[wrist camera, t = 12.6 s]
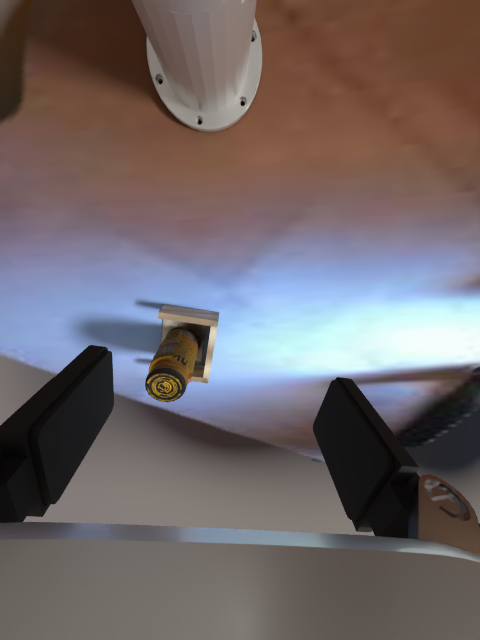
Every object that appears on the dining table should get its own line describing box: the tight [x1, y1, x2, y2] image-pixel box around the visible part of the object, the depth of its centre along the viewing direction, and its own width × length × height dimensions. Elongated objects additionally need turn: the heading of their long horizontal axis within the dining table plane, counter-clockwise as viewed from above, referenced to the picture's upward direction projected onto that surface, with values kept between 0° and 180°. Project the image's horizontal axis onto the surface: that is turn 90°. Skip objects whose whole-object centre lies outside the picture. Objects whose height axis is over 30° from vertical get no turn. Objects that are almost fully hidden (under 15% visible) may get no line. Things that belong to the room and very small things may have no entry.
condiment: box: [145, 319, 207, 402], centre depth 35 cm, size 7×8×12 cm
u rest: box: [158, 304, 219, 383], centre depth 39 cm, size 12×9×4 cm
